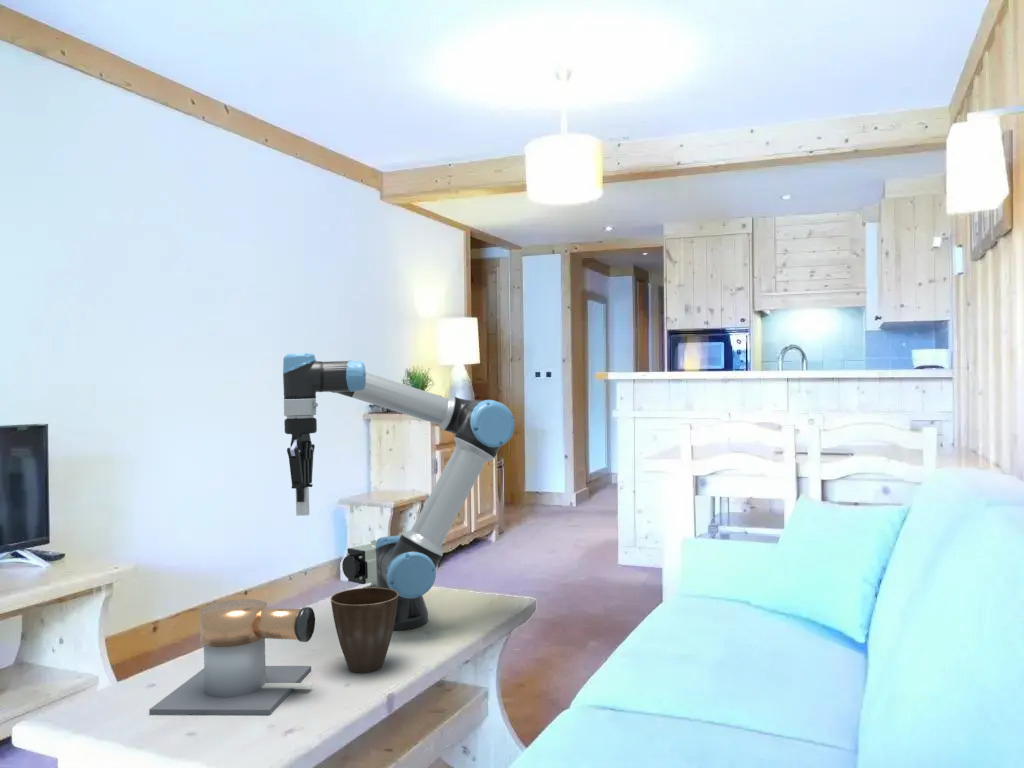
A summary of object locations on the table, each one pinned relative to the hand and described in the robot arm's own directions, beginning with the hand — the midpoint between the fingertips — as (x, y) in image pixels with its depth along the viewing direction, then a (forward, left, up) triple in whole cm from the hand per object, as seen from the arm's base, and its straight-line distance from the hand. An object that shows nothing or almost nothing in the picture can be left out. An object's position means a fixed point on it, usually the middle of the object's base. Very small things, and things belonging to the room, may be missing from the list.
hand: (302, 514), depth 189 cm
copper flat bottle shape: (+1, +27, -22) cm, 34 cm away
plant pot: (-18, +12, -33) cm, 39 cm away
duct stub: (+4, +26, -32) cm, 42 cm away
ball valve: (-6, -44, -33) cm, 55 cm away
